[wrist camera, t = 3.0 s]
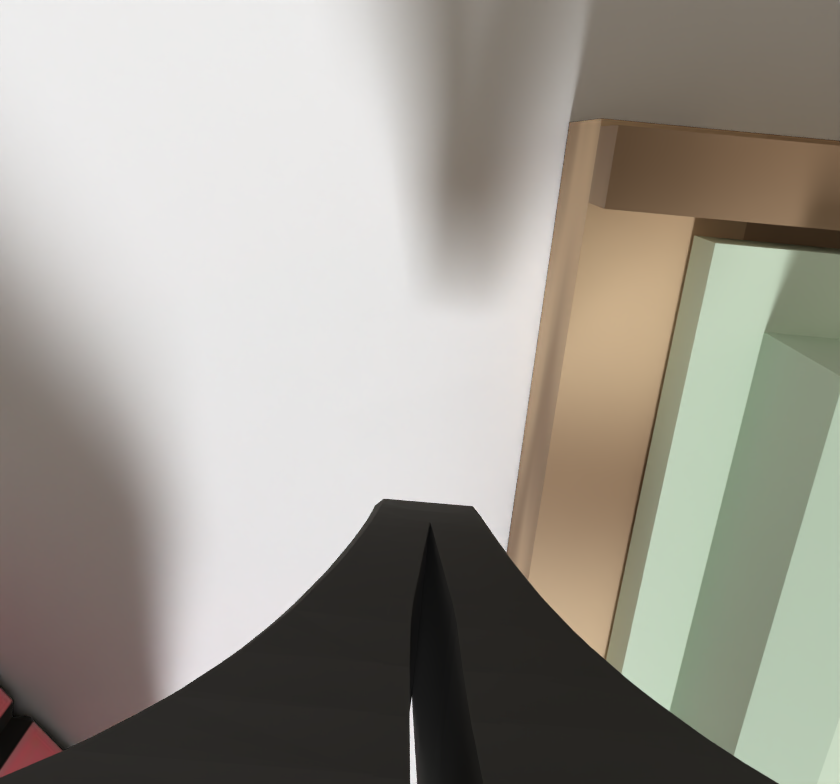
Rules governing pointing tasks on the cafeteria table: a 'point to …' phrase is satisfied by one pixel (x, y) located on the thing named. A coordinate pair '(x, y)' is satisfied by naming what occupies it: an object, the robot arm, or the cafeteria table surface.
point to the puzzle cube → (21, 739)
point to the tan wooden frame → (634, 327)
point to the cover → (745, 513)
